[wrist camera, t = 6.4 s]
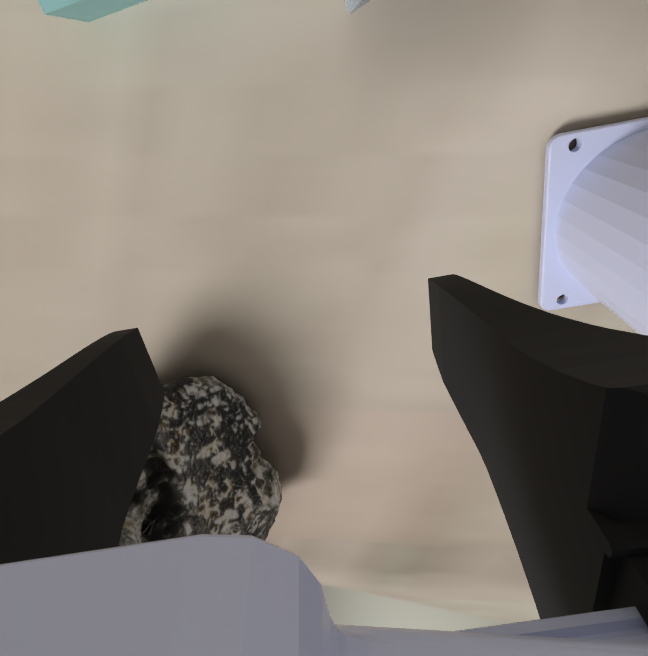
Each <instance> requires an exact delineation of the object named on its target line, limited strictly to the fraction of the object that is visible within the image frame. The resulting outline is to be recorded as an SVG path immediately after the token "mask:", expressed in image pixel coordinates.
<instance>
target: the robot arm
mask: <svg viewBox="0 0 648 656" xmlns="http://www.w3.org/2000/svg"><path fill="white" fill-rule="evenodd" d="M575 138H576V139H577V144H576V147H575V148H574V149H572V150H569V147H568V146H569V143H570V142H571V141H572V140H573V139H575ZM428 285H429V301H430V318H431V334H432V350H433V353H434V356H435V359H436V362H437V365H438V368H439V371H440V374H441V377H442V379H443V382H444V384H445V386H446V388H447V390H448V392H449V394H450V396H451V398H452V400H453V402H454V404H455V406H456V408H457V410H458V412H459V414H460V415H461V417H462V419H463V421H464V423H465V425H466V427H467V429H468V431H469V433H470V435H471V437H472V439H473V440H474V442H475V444H476V446H477V448H478V450H479V452H480V454H481V456H482V459H483V461H484V463H485V465H486V467H487V470H488V473H489V475H490V478H491V480H492V483H493V486H494V488H495V491H496V493H497V496H498V499H499V501H500V504H501V507H502V509H503V512H504V515H505V518H506V520H507V523H508V526H509V529H510V531H511V534H512V537H513V540H514V542H515V545H516V548H517V551H518V554H519V557H520V560H521V563H522V566H523V569H524V571H525V574H526V577H527V580H528V583H529V586H530V589H531V592H532V595H533V598H534V601H535V604H536V607H537V610H538V613H539V616H540V619H539V620H532V621H525V622H517V623H510V624H503V625H496V626H488V627H481V628H474V629H466V630H459V631H436V630H420V629H419V630H418V629H404V628H386V627H370V626H354V625H337V624H334V623H333V621H332V619H331V617H330V615H329V611H328V608H327V604H326V601H325V597H324V594H323V590H322V586H321V584H320V583H319V581H318V580H317V579H316V578H315V576H314V575H313V574H312V573H311V571H310V570H309V569H308V567H307V566H306V565H305V564H304V562H303V561H302V560H301V558H300V557H299V556H297V555H296V554H294V553H293V552H291V551H289V550H286V549H284V548H281V547H279V546H276V545H274V544H271V543H269V542H266V541H264V540H261V539H259V538H257V537H254V536H252V535H218V534H200V535H193V536H186V537H180V538H173V539H166V540H159V541H153V542H146V543H139V544H133V545H126V546H119V547H118V545H119V541H120V537H121V533H122V529H123V525H124V522H125V519H126V515H127V512H128V509H129V506H130V503H131V501H132V498H133V495H134V493H135V490H136V487H137V485H138V482H139V479H140V477H141V474H142V471H143V469H144V466H145V463H146V461H147V458H148V455H149V453H150V450H151V447H152V444H153V442H154V439H155V436H156V433H157V430H158V427H159V423H160V418H161V414H162V408H163V402H164V397H165V392H164V390H163V387H162V385H161V383H160V380H159V378H158V375H157V373H156V371H155V368H154V366H153V364H152V361H151V359H150V356H149V354H148V352H147V349H146V347H145V344H144V342H143V340H142V337H141V335H140V332H139V330H138V328H134V329H128V330H122V331H116V332H112V333H110V334H108V335H106V336H104V337H102V338H100V339H99V340H97V341H95V342H94V343H92V344H90V345H89V346H87V347H86V348H84V349H82V350H81V351H79V352H78V353H76V354H75V355H73V356H72V357H70V358H69V359H67V360H66V361H64V362H63V363H61V364H60V365H58V366H57V367H55V368H54V369H52V370H51V371H49V372H48V373H46V374H44V375H43V376H41V377H40V378H38V379H36V380H35V381H33V382H32V383H30V384H28V385H27V386H25V387H24V388H22V389H20V390H19V391H17V392H16V393H14V394H12V395H11V396H9V397H8V398H6V399H4V400H3V401H1V402H0V656H648V117H644V118H639V119H633V120H628V121H622V122H617V123H612V124H606V125H601V126H596V127H590V128H585V129H579V130H574V131H569V132H563V133H559V134H556V135H554V136H553V137H552V138H551V139H550V140H549V141H548V143H547V147H546V159H545V178H544V196H543V215H542V233H541V252H540V270H539V289H538V303H539V305H540V306H541V307H542V308H543V309H545V310H555V309H561V308H567V307H573V306H579V305H585V304H591V303H598V302H601V303H603V304H604V305H605V306H606V307H607V308H609V309H610V310H611V311H612V312H613V313H615V314H616V315H617V316H618V317H620V318H621V319H622V320H623V321H624V322H626V323H627V324H628V325H629V326H630V327H632V328H633V329H634V330H635V331H636V332H638V333H639V334H635V333H630V332H625V331H619V330H614V329H608V328H604V327H599V326H595V325H590V324H587V323H583V322H579V321H575V320H572V319H568V318H564V317H561V316H558V315H554V314H551V313H548V312H545V311H542V310H540V309H537V308H534V307H531V306H529V305H526V304H523V303H521V302H518V301H516V300H513V299H511V298H508V297H506V296H504V295H501V294H499V293H497V292H494V291H492V290H490V289H488V288H486V287H483V286H481V285H479V284H477V283H475V282H472V281H470V280H468V279H465V278H463V277H461V276H458V275H454V274H452V275H446V276H440V277H434V278H429V279H428ZM561 295H564V297H563V298H562V299H561V300H559V301H557V298H558V297H559V296H561Z"/></svg>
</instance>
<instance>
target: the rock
mask: <svg viewBox="0 0 648 656" xmlns="http://www.w3.org/2000/svg"><path fill="white" fill-rule="evenodd" d="M162 387H163V390H164V392H165V397H164V402H163V408H162V414H161V418H160V423H159V427H158V430H157V433H156V436H155V439H154V442H153V444H152V447H151V450H150V453H149V455H148V458H147V461H146V463H145V466H144V469H143V471H142V474H141V477H140V479H139V482H138V485H137V487H136V490H135V493H134V495H133V498H132V501H131V503H130V506H129V509H128V512H127V515H126V519H125V522H124V525H123V529H122V533H121V537H120V541H119V545H118V547H119V546H126V545H133V544H139V543H146V542H153V541H159V540H166V539H173V538H180V537H186V536H193V535H200V534H218V535H252V536H254V537H257V538H259V539H261V540H264V541H265V539H266V538H267V536H268V532H269V529H270V528H271V526H272V525H273V523H274V522H275V517H276V516H277V514H278V510H279V505H280V502H281V500H282V489H281V484H280V482H279V474H278V472H277V470H276V469H274V468H273V467H272V466H271V465H270V463H269V462H267V461H266V460H265V459H263V458H262V457H261V455H260V454H261V453H260V449H259V448H258V446H257V445H256V444H255V443H254V442H253V438H254V434H255V432H256V431H257V430H258V429H259V428H261V426H262V424H261V420H260V417H259V415H258V414H257V412H256V411H255V410H252V409H251V408H249V407H248V406H247V405H246V403H245V400H244V397H243V396H241V395H238V394H236V393H235V392H234V391H233V389H232V388H231V387H228V386H226V385H225V384H224V383H222V382H220V381H219V380H217V379H216V378H215V377H214V376H196V377H186V378H182V379H178V380H174V381H172V382H169V383H167V384H164V385H162Z"/></svg>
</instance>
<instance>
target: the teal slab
mask: <svg viewBox="0 0 648 656" xmlns="http://www.w3.org/2000/svg"><path fill="white" fill-rule="evenodd" d="M144 1H147V0H38V2H39V4H40V6H41V8H42V10H43V12H44V14H46V15H52V16H57V17H63V18H68V19H74V20H79V21H85V22H90V21H93V20H96V19H98V18H101V17H104V16H106V15H109V14H112V13H114V12H117V11H120V10H122V9H125V8H128V7H131V6H133V5H136V4H139V3H141V2H144Z"/></svg>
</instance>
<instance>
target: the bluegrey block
mask: <svg viewBox="0 0 648 656" xmlns="http://www.w3.org/2000/svg"><path fill="white" fill-rule="evenodd" d="M344 1H345V3H346V6H347V8H348V10H349V12H350V14H351V13H352V12H354V11H355V10H357V9H358V8H360V7H361V6H363V5H364V4H366V3H367V2H369V1H370V0H344Z"/></svg>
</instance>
